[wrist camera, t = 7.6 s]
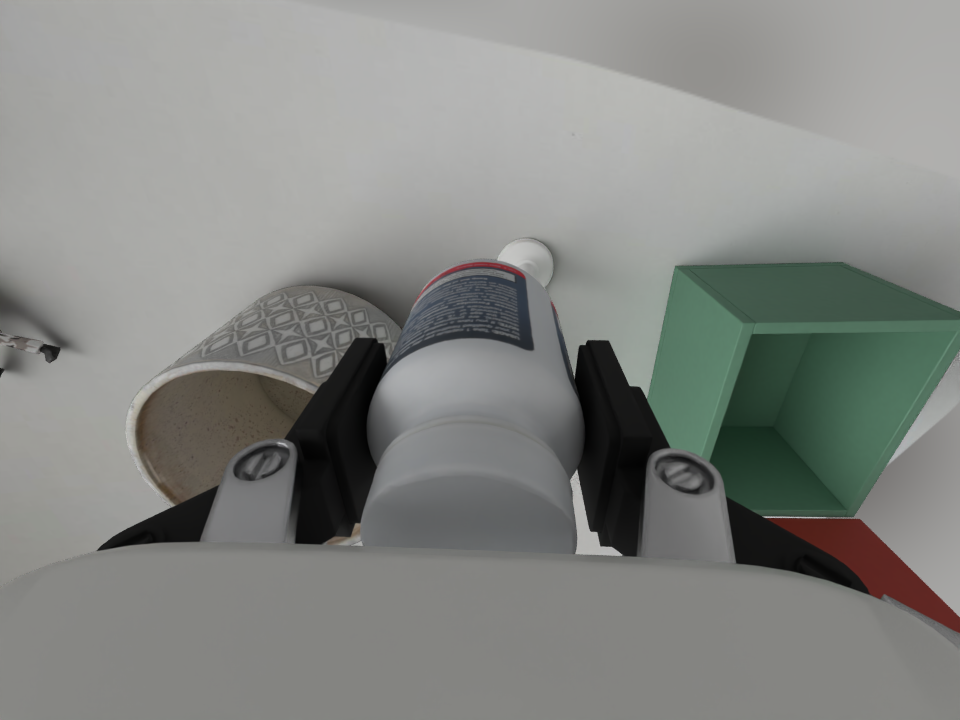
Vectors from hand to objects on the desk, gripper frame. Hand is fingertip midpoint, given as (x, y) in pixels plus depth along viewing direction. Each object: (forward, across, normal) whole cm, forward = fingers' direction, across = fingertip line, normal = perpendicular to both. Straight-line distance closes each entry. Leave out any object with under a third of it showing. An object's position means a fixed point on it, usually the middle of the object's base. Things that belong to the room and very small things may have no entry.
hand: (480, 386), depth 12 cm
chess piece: (+25, -2, +5) cm, 26 cm away
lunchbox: (+25, -22, +13) cm, 36 cm away
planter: (+25, +16, +15) cm, 33 cm away
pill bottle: (+4, 0, 0) cm, 4 cm away
